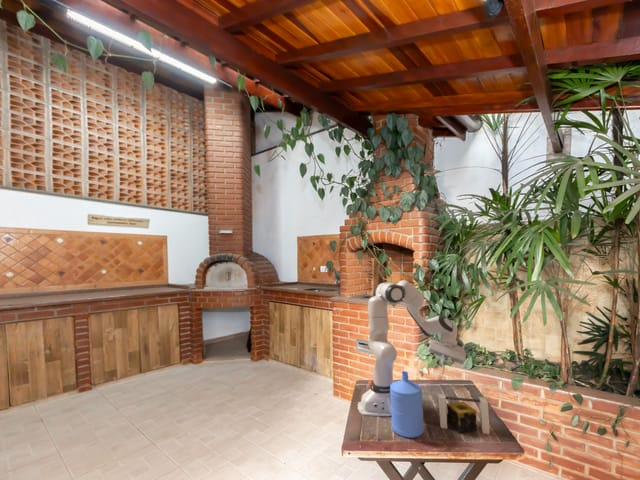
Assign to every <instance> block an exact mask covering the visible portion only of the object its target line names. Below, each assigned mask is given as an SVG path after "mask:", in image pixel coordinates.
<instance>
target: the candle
mask: <svg viewBox="0 0 640 480" xmlns="http://www.w3.org/2000/svg"><path fill="white" fill-rule="evenodd" d="M446 411H447V413H446V415H447V425H449V426H450V427H451V428H453V430H455V431H456V432H457V433H458V434H465V433H466V434H467V433H473V432H477V431H478V424H477V410H476V409H474V408H473V407H471V406H470V405H469V404H467V403H466V401H456V402H448V403H447V402H446Z"/></svg>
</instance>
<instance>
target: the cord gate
mask: <svg viewBox="0 0 640 480" xmlns="http://www.w3.org/2000/svg"><path fill="white" fill-rule="evenodd" d="M447 400H451V401H452V400H453V401H459V402H469V403H470V402H473V403H478V406H479V407H478V408H479V409H478V410H479V421H480V422H479V424H480V425H479V426H480V429H481V431H482V434H486V435H487V434H489V435H490V419H489V418H490V417H489V402H488V400H487V398H486V397H485V396H478V399H474V398H464V397H453V396H446V395H445V393H442V392H438V408H439V409H438V411H439V424H440V428H442V429H448V423H447Z"/></svg>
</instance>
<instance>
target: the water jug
mask: <svg viewBox="0 0 640 480" xmlns="http://www.w3.org/2000/svg"><path fill="white" fill-rule="evenodd" d="M422 391H423V389H422V387H421V385H420V384H419V383H416V382H413V381H412V380H409V371H405V370H404V371H403V370H402V371H401V380H397V381H393V383H392V384H391V386H390V395H391V429H392V430H393V432H394V433H396V434H397V435H399V436H401V437H404V438H410V439H413V438H418V437H420V436H422V435H423V433H424V432H425V425H424V408H423V392H422Z"/></svg>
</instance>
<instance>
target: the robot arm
mask: <svg viewBox="0 0 640 480" xmlns="http://www.w3.org/2000/svg"><path fill="white" fill-rule="evenodd" d="M401 301H403V302H404V303H405V304H406V310H407V312H408V314H409V316H410V317H411V318H412V319H413V321H414V322H415V323H416V324H417V326H418V327H419V329H420V331H421V333H422V334H423V335H424V336H426V337H428V338H431V339H429V340H428V343H429V345H428V349H427V351H428V353H430V354H433V355H436V356H438V357H440V359H441V360H442V361H441V362H442V364H444V365H448V364H449V362H450V361H452V362H456V363H459V364H462V365H463V364H465V362H466V360H467V357H466V356H467V353H466V350H465V345H464V344H463V343H461V342H459V341H458V340H457V337H458V325H457V323H456V321H454V320H452V319H451V320H450V318H448V317H447V316H445V315H444V314H440V315H436V316H434V317H432V318H428V319H425V318H424V317H423V316H422V314H421V313H420V311H419V310H420V309H421V308H422V307H423V305H424V302H425V297H424V294H423V293H422V292H421V291H420V290H419V289H418V288H417V287H416V286H414V284H412V283H410V282H409V281H407V280H406V279H405V280H403V279H401V280H400V281H398V282H397V283H396V284H395V283H392V282H383V281H382V282H380V283H379V282H378V284H376V286H375V288H374V292H373V296H372V297H370V298H369V299H368V305H367V307H368V310H367V313H368V321H369V322H368V323H369V339H368V343H367V345H368V348H369V350H370V352H371V354H373V355H374V358H375V361H374V362H375V364H374V366H373V368H372V372H373V374H372V375H373V376H372V377H373V381H371V380H369V381H368V383H367V384H368V386H369V387H370V388H369V389H368V390H367V391H366V392H364V393H363V394H362V395H361V399H360V400H361V401H358V403H357V406H358V407H357V411H358V410H359V411H358V412H359V413H360V415H362V416H371V417H373V416H374V417H390V416H391V395H390V386H391V384H392V383H393V382H394V374H393V373H394V363H395V361H396V359H397V358H398V357H397V356H398V351H397V349H396V347H395V346H394V345H393V344H392V343H391V342H390V341H389V340H388V332H389V329H390V326H389V325H390V322H389V315H388V305H389V303H392V304H397V303H400V302H401ZM438 334H440V340H438V339H434V338H432V337H434V336H435V335H438ZM391 417H392V416H391Z"/></svg>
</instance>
